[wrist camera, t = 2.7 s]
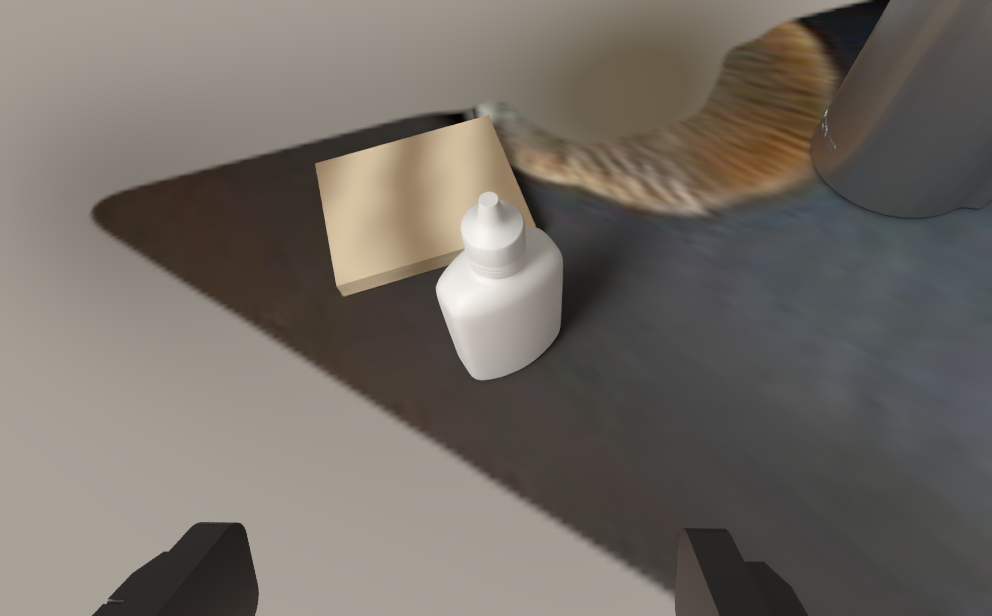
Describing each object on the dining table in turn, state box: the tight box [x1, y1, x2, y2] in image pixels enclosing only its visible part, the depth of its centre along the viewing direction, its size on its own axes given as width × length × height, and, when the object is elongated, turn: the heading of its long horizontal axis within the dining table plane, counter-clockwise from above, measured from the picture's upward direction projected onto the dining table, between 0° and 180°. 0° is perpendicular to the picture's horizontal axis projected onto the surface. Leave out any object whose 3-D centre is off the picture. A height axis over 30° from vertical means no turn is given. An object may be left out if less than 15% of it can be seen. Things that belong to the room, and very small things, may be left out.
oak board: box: [315, 115, 536, 296], centre depth 33 cm, size 12×10×1 cm
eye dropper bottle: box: [436, 192, 563, 380], centre depth 24 cm, size 4×6×12 cm
